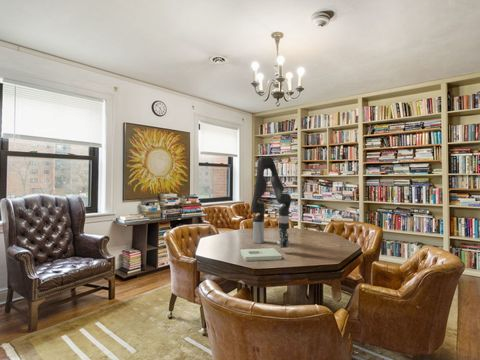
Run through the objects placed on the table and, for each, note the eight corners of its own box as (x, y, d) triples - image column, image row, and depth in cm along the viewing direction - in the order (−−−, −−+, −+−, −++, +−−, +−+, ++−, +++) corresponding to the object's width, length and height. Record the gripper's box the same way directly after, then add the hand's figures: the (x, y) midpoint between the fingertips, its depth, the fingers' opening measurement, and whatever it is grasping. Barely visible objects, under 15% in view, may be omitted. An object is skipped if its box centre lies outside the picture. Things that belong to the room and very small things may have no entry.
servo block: (276, 246, 200) (276, 238, 200) (288, 246, 201) (288, 238, 201) (278, 248, 196) (278, 239, 196) (290, 247, 197) (290, 239, 197)
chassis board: (240, 252, 197) (240, 249, 197) (273, 251, 201) (273, 247, 201) (245, 260, 178) (245, 256, 178) (281, 259, 181) (281, 255, 181)
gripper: (275, 220, 205) (275, 243, 205) (281, 223, 191) (281, 248, 191) (285, 220, 206) (285, 243, 206) (292, 223, 192) (292, 248, 192)
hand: (283, 245), depth 198 cm, fingers closed on servo block, 4 cm apart
